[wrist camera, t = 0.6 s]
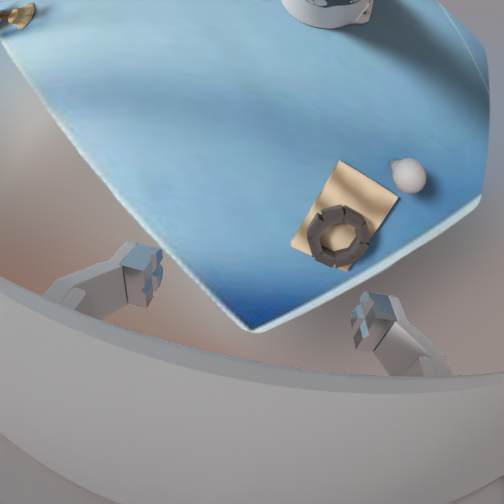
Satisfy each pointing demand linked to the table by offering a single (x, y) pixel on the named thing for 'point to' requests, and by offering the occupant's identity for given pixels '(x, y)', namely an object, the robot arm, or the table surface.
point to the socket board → (352, 197)
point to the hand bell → (20, 15)
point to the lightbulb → (408, 175)
